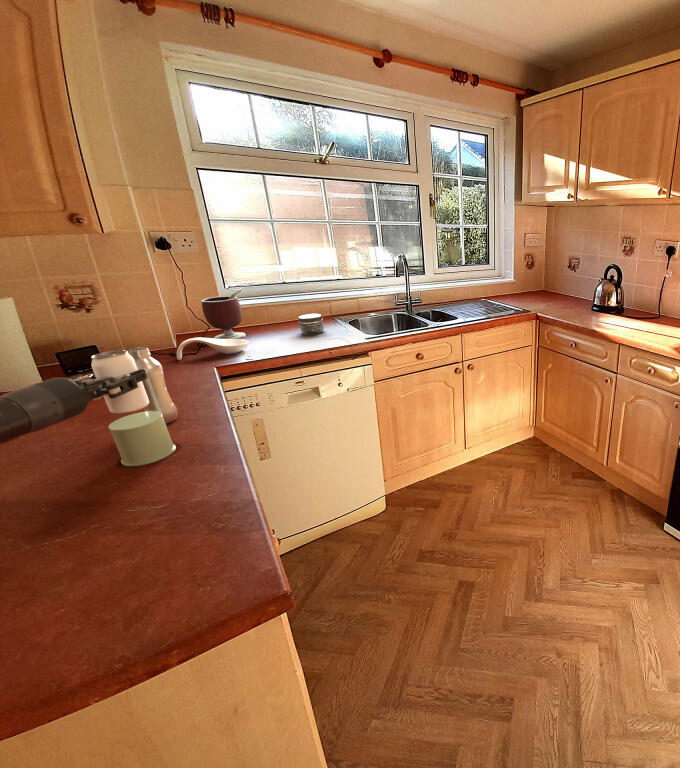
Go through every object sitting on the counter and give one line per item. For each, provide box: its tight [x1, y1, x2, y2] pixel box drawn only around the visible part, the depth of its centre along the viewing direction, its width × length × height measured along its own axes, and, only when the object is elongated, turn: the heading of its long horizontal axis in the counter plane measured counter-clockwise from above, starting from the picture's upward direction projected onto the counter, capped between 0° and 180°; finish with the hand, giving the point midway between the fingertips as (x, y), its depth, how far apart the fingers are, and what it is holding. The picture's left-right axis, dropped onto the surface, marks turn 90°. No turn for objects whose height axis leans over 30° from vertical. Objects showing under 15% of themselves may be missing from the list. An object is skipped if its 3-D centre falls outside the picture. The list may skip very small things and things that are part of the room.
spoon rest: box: [176, 337, 250, 361], centre depth 163 cm, size 24×12×7 cm, turn 123°
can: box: [90, 349, 149, 415], centre depth 87 cm, size 6×6×12 cm
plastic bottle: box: [128, 346, 179, 425], centre depth 106 cm, size 6×7×20 cm
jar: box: [297, 313, 325, 336], centre depth 192 cm, size 10×10×8 cm
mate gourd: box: [201, 290, 247, 339], centre depth 184 cm, size 16×14×20 cm
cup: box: [108, 411, 177, 467], centre depth 93 cm, size 10×10×9 cm
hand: (129, 373), depth 89 cm, fingers closed on can, 6 cm apart
